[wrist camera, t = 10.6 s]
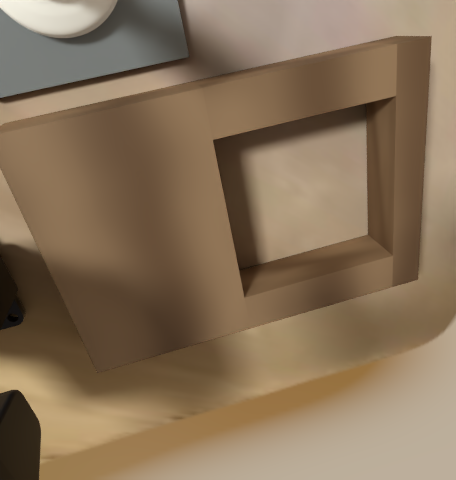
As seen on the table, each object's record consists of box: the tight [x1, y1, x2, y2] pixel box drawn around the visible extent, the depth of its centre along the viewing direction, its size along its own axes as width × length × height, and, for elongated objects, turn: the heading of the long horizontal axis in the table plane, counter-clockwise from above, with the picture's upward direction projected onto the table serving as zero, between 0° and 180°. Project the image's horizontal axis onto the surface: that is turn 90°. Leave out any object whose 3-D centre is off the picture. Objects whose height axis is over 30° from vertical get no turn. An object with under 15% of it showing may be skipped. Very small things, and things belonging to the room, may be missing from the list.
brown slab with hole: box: [0, 36, 432, 373], centre depth 19 cm, size 18×12×2 cm
